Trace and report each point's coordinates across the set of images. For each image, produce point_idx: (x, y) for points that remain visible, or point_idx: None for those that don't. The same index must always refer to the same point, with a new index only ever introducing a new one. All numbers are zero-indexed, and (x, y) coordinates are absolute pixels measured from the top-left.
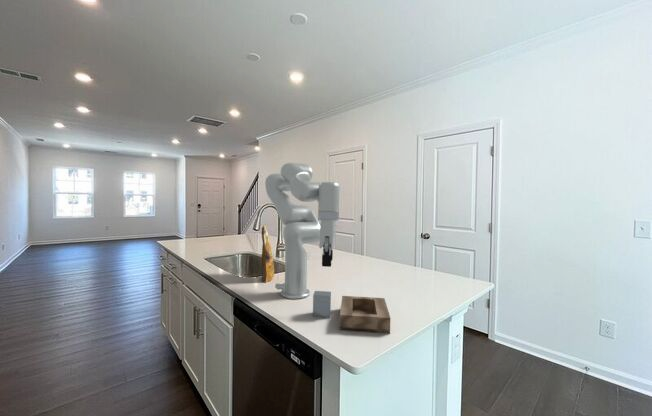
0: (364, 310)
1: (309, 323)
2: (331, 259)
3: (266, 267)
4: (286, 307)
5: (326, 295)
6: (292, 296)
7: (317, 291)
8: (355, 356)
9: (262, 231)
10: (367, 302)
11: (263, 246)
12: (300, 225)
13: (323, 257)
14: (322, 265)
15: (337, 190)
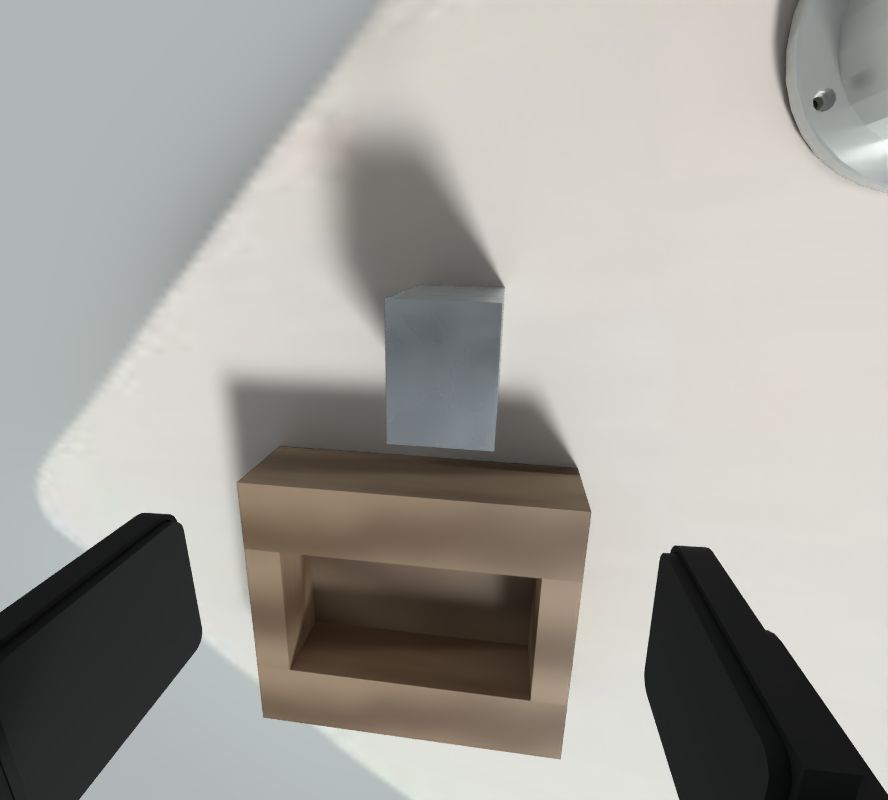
0: (514, 597)
1: (325, 275)
2: (646, 687)
3: None
4: (576, 34)
5: (390, 415)
6: (801, 25)
7: (483, 329)
8: (84, 500)
9: None
10: (533, 647)
11: None
12: None
13: (6, 646)
14: (143, 522)
15: None
